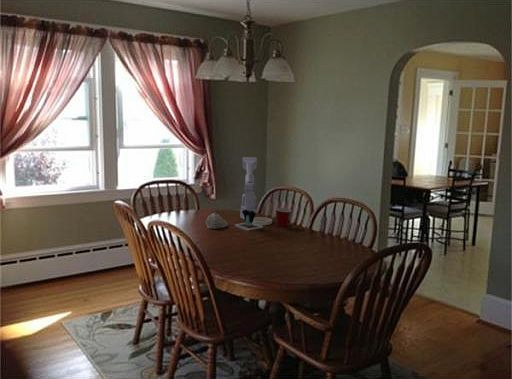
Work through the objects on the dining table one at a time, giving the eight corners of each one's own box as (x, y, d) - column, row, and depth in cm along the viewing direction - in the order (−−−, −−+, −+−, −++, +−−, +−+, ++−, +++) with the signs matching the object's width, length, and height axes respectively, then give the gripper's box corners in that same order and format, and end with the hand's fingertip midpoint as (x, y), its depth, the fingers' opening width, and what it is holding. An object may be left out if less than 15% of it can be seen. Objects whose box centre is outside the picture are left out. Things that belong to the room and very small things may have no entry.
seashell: (229, 227, 305) (229, 211, 303) (213, 230, 295) (213, 214, 293) (217, 223, 313) (217, 209, 311) (201, 226, 303) (201, 211, 302)
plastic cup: (291, 229, 302) (292, 210, 300) (274, 228, 302) (275, 210, 300) (290, 225, 313) (291, 207, 311) (274, 224, 313) (274, 207, 311)
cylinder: (244, 224, 302) (244, 215, 301) (249, 223, 305) (249, 214, 304) (248, 225, 299) (249, 216, 298) (253, 224, 302) (253, 215, 301)
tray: (234, 227, 304) (234, 224, 303) (248, 224, 312) (248, 222, 311) (248, 231, 293) (248, 228, 293) (262, 228, 301) (263, 226, 301)
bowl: (245, 223, 315) (245, 218, 315) (261, 220, 325) (261, 216, 324) (259, 227, 304) (260, 223, 304) (276, 224, 314) (276, 220, 314)
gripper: (237, 200, 302) (237, 220, 305) (252, 203, 292) (251, 224, 294) (245, 199, 307) (245, 219, 309) (260, 202, 296) (260, 223, 298)
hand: (248, 221), depth 302 cm, fingers closed on cylinder, 4 cm apart
